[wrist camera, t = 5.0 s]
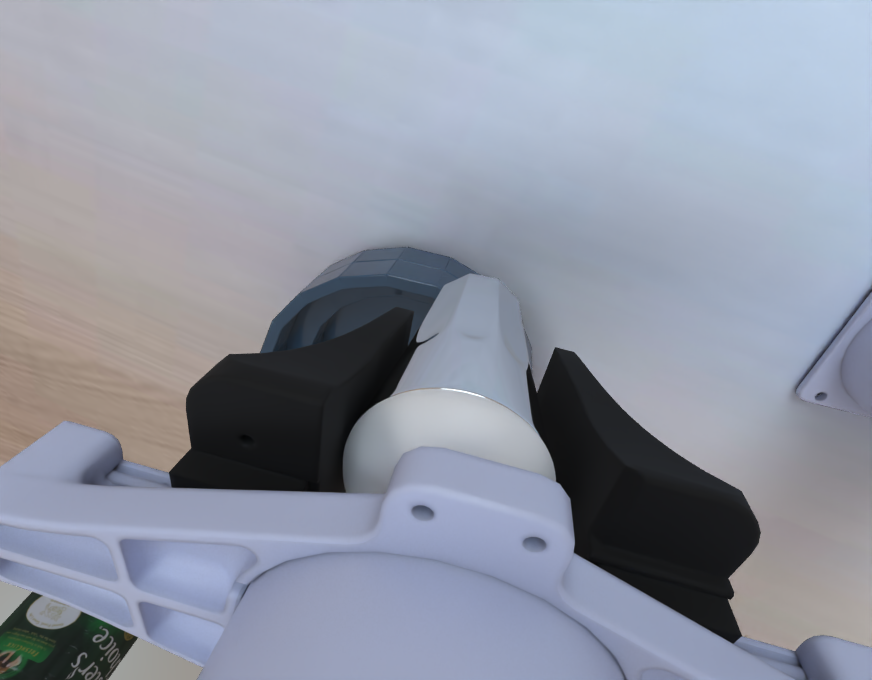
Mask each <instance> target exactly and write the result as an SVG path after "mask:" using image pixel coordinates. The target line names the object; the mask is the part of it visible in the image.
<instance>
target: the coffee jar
mask: <svg viewBox="0 0 872 680" xmlns="http://www.w3.org/2000/svg"><path fill="white" fill-rule="evenodd" d="M137 638H138V637H136V636H134V635H132V634H130V633H128V632H126V631H124V630H121V629H119V628H117V627H115V626H113V625H111V624H109V623H107V622H104V621H102V620H100V619H98V618H95V617H93V616H91V615H89V614H86V613H84V612H82V611H80V610H77V609H75V608H73V607H71V606H68V605H66V604H63V603H61V602H58V601H55V600H53V599H50V598H48V597H45V596H43V595H40V594H37V593H35V592H32V593H31V594H30V595H29V596H28V597H27V598H26V599H25V600H24V601H23V602H22V604H21V605H20V606H19V607H18V608H17V609H16V610H15V611H14V612H13V613H12V614H11V615H10V616H9V617H8V618H7V620H6V621H5V622H4V623H3V624H2V625H1V626H0V680H108V679H109V677H110V676H111V675H112V673H113V672H114V671H115V669H116V668H117V666H118V665H119V663H120V662H121V660H122V659H123V658H124V656H125V655H126V654H127V652H128V651H129V649H130V648H131V647H132V645H133V644H134V642H135V641H136V640H137Z"/></svg>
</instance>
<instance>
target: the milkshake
mask: <svg viewBox="0 0 872 680" xmlns="http://www.w3.org/2000/svg"><path fill="white" fill-rule="evenodd" d="M421 446H425V447H439V448H447V449H450V450H454V451H458V452H461V453H465V454H469V455H472V456H476V457H480V458H483V459H487V460H491V461H494V462H498V463H502V464H505V465H509V466H513V467H516V468H520V469H524V470H527V471H531V472H535V473H538V474H541V475H543V476H545V477H547V478H549V479H551V480H553V481H555V482H556V476H555V469H554V465H553V461H552V456H551V452H550V447H549V443H548V439H547V434H546V430H545V426H544V422H543V417H542V413H541V409H540V404H539V400H538V396H537V392H536V388H535V384H534V380H533V376H532V372H531V367H530V362H529V356H528V351H527V345H526V339H525V333H524V328H523V322H522V316H521V310H520V304H519V299H518V297H517V296H516V295H515V294H514V293H512V292H511V291H510V290H509V289H508V288H507V287H506V286H505V285H504V283H503V282H502V281H501V280H500V279H499V278H493V277H487V276H482V275H476V274H471V273H469V274H467V275H465V276H463V277H461V278H459V279H456V280H454V281H452V282H450V283H447V284H445V285H444V286H443V288H442V289H441V291H440V293H439V295H438V296H437V298H436V300H435V301H434V303H433V305H432V307H431V308H430V310H429V312H428V313H427V315H426V317H425V318H424V320H423V322H422V324H421V325H420V327H419V329H418V330H417V332H416V334H415V335H414V337H413V339H412V340H411V342H410V343H409V345H408V347H407V348H406V350H405V351H404V353H403V354H402V356H401V357H400V358H399V360H398V361H397V363H396V364H395V365H394V367H393V368H392V370H391V371H390V373H389V374H388V376H387V377H386V379H385V380H384V382H383V383H382V385H381V386H380V388H379V389H378V391H377V392H376V393H375V395H374V396H373V398H372V399H371V401H370V402H369V404H368V405H367V407H366V408H365V410H364V411H363V413H362V414H361V416H360V417H359V419H358V421H357V422H356V424H355V425H354V427H353V428H352V430H351V432H350V434H349V436H348V439H347V441H346V444H345V448H344V453H343V481H344V486H345V490H346V493H370V494H384V493H386V491H387V488H388V485H389V482H390V479H391V477H392V474H393V471H394V468H395V466H396V464H397V463H398V461H399V460H400V458H401V456H402V455H403V453H406V452H408V451H411V450H413V449H416V448H418V447H421Z"/></svg>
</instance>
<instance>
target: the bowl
mask: <svg viewBox="0 0 872 680" xmlns="http://www.w3.org/2000/svg"><path fill="white" fill-rule="evenodd" d="M469 273H471V274H476V275H480V274H478V273H476V272H475V271H473V270H471V269H469V268H468V267H466V266H464V265H463V264H461V263H459V262H458V261H456V260H454V259H453V258H450V257H447V256H443V255H439V254H435V253H431V252H427V251H423V250H418V249H414V248H410V247H400V248H387V249H373V250H366V251H362V252H360V253H357V254H355V255H353V256H350V257H348V258H346V259H344V260H341V261H339V262H337V263H335V264H332V265H331V266H329V267H328V268H327V269H326V270H324V271H323V272H322V273H321V274H320V275H319V276H318V277H317V278H316V279H314V280H313V281H312V282H311V283H310V284H309V285H308V286H307V287H306V288H304V289H303V290H302V291H301V292H300V293H299V294H298V295H297V296H296V297H295V298H294V299H293V300H292V301H291V302H290V303H289V304H288V305H287V306H286V307H285V308H284V309H283V310H282V311H281V312H280V313H279V314H278V315H277V316H276V317H275V318H274V319H273V320H272V322H271V325H270V328H269V330H268V333H267V336H266V338H265V341H264V343H263V346H262V349H261V351H260V353H268V352H277V351H285V350H291V349H296V348H301V347H305V346H309V345H314V344H318V343H321V342H325V341H328V340H331V339H334V338H336V337H339V336H342V335H344V334H346V333H348V332H351V331H353V330H355V329H357V328H359V327H361V326H363V325H365V324H367V323H369V322H371V321H372V320H374V319H376V318H378V317H379V316H381V315H383V314H384V313H386V312H388V311H390V310H391V309H393V308H395V307H399V308H403V309H407V310H411V311H414V315H413V321H412V326H411V331H410V337H409V342H408V345H409V343H410V342H411V340H412V339H413V337H414V335H415V334H416V332H417V330H418V329H419V327H420V325H421V324H422V322H423V320H424V318H425V317H426V315H427V313H428V312H429V310H430V308H431V307H432V305H433V303H434V301H435V300H436V298H437V296H438V295H439V293H440V291H441V289H442V288H443V286H444V285H445V284H447V283H450V282H452V281H454V280H456V279H459V278H461V277H463V276H465V275H467V274H469ZM524 333H525V339H526V345H527V351H528V356H529V362H530V367H531V372H532V348H531V344H530V342H529V340H528V337H527V335H526V332H525V330H524Z"/></svg>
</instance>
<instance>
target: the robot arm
mask: <svg viewBox="0 0 872 680" xmlns="http://www.w3.org/2000/svg"><path fill="white" fill-rule="evenodd" d="M413 315H414V311H411V310H407V309H403V308H399V307H395V308H393V309H391V310H390V311H388V312H386V313H384V314H383V315H381V316H379V317H378V318H376V319H374V320H372V321H371V322H369V323H367V324H365V325H363V326H361V327H359V328H357V329H355V330H353V331H351V332H348V333H346V334H344V335H342V336H339V337H336V338H334V339H331V340H328V341H325V342H321V343H318V344H314V345H309V346H305V347H301V348H296V349H291V350H285V351H277V352H268V353H252V354H229V355H228V356H226V357H225V358H224V359H223V360H221V361H220V362H219V363H218V364H216V365H215V366H214V367H213V368H212V369H211V370H210V371H209V372H208V373H207V374H206V375H205V376H203V377H202V378H201V379H200V380H199V381H198V382H197V383H196V384H195V385H194V386H193V387H192V388H191V389H190V391H189V393H188V395H187V398H186V413H187V420H188V427H189V434H190V441H191V449H190V450H189V451H188V452H187V453H186V455H185V456H184V457H183V458H182V459H181V460H180V461H179V462H178V463H177V464H176V465H175V466H174V467H173V469H172V470H171V471H170V472H169V473H168V472H164V471H161V470H157V469H154V468H150V467H147V466H143V465H140V464H136V463H133V462H129V461H126V460H123V454H122V448H121V444H120V443H119V441H118V439H117V438H115V437H114V436H113V435H112V434H110V433H108V432H106V431H102V430H98V429H95V428H91V427H88V426H84V425H81V424H77V423H74V422H70V421H63V422H62V423H61V424H59V425H58V426H56V427H55V428H54V429H52V430H51V431H49V432H48V433H47V434H45V435H44V436H42V437H41V438H40V439H38V440H37V441H35V442H34V443H33V444H31V445H30V446H29V447H27V448H26V449H24V450H23V451H22V452H20V453H19V454H17V455H16V456H15V457H13V458H12V459H10V460H9V461H8V462H6V463H5V464H3V465H2V466H1V467H0V581H2V582H5V583H8V584H11V585H14V586H17V587H20V588H23V589H26V590H29V591H32V592H35V593H37V594H40V595H43V596H45V597H48V598H50V599H53V600H55V601H58V602H61V603H63V604H66V605H68V606H71V607H73V608H75V609H77V610H80V611H82V612H84V613H86V614H89V615H91V616H93V617H95V618H98V619H100V620H102V621H104V622H107V623H109V624H111V625H113V626H115V627H117V628H119V629H121V630H124V631H126V632H128V633H130V634H132V635H134V636H136V637H138V638H141V639H143V640H145V641H147V642H149V643H151V644H153V645H155V646H158V647H160V648H162V649H164V650H166V651H168V652H171V653H172V654H175V655H177V656H179V657H181V658H183V659H185V660H188V661H189V662H192V663H194V664H196V665H198V666H200V667H202V668H203V669H202V671H201V673H200V674H199V677H198V678H197V680H872V648H871V647H868V646H864V645H860V644H857V643H853V642H850V641H846V640H843V639H839V638H836V637H832V636H825V635H820V636H813V637H811V638H809V639H807V640H805V641H804V642H803V643H802V644H801V645H800V646H799V647H798V648H797V650H796V651H792V650H788V649H785V648H781V647H778V646H774V645H771V644H767V643H764V642H760V641H757V640H753V639H750V638H746V637H743V636H742V635H741V632H740V630H739V627H738V625H737V622H736V619H735V617H734V614H733V612H732V609H731V607H730V604H729V602H728V599H730V600H731V599H732V598H733V597H734V591H733V588H732V586H731V584H730V581H729V579H728V578H729V577H730V576H731V575H732V574H733V573H734V572H735V571H736V569H737V568H738V567H739V566H740V565H741V564H742V563H743V562H744V561H745V560H746V559H747V558H748V557H749V556H750V555H751V554H752V552H753V551H754V549H755V548H756V546H757V545H758V543H759V538H760V534H761V532H760V528H759V524H758V521H757V519H756V517H755V515H754V514H753V512H752V510H751V508H750V506H749V504H748V502H747V501H746V499H745V497H744V495H743V493H742V491H740V490H739V489H737V488H735V487H733V486H731V485H729V484H727V483H726V482H724V481H722V480H720V479H718V478H716V477H714V476H713V475H711V474H709V473H707V472H705V471H704V470H702V469H700V468H699V467H697V466H696V465H694V464H692V463H691V462H689V461H688V460H686V459H684V458H683V457H681V456H680V455H678V454H677V453H675V452H674V451H672V450H671V449H670V448H668V447H667V446H666V445H664V444H663V443H662V442H660V441H659V440H658V439H656V438H655V437H654V436H652V435H651V434H650V433H649V432H647V431H646V430H645V429H644V428H643V427H641V426H640V425H639V424H638V423H637V422H636V421H635V420H634V419H633V418H631V417H630V416H629V415H628V414H627V413H626V412H625V411H624V410H623V409H622V408H621V407H620V406H619V405H618V404H617V403H616V402H615V400H614V399H613V398H612V397H611V396H610V395H609V394H608V393H607V392H606V390H605V389H604V388H603V387H602V386H601V385H600V383H599V382H598V381H597V380H596V378H595V377H594V376H593V375H592V373H591V372H590V371H589V370H588V368H587V367H586V366H585V364H584V363H583V362H582V361H581V359H580V358H579V357H578V356H577V355H576V354H575V353H574V352H572V351H568V350H564V349H560V348H556V347H555V349H554V352H553V354H552V357H551V359H550V362H549V364H548V367H547V369H546V372H545V374H544V377H543V380H542V382H541V385H540V387H539V390H538V392H537V396H538V400H539V404H540V409H541V413H542V417H543V422H544V426H545V430H546V434H547V439H548V443H549V447H550V452H551V456H552V461H553V465H554V469H555V476H556V482H555V481H553V480H551V479H549V478H547V477H545V476H543V475H541V474H538V473H535V472H531V471H527V470H524V469H520V468H516V467H513V466H509V465H505V464H502V463H498V462H494V461H491V460H487V459H483V458H480V457H476V456H472V455H469V454H465V453H461V452H458V451H454V450H450V449H447V448H439V447H425V446H421V447H418V448H416V449H413V450H411V451H408V452H406V453H403V455H402V456H401V458H400V460H399V461H398V463H397V464H396V466H395V468H394V471H393V474H392V477H391V479H390V482H389V485H388V488H387V491H386V493H384V494H370V493H346V490H345V486H344V481H343V453H344V448H345V444H346V441H347V439H348V436H349V434H350V432H351V430H352V428H353V427H354V425H355V424H356V422H357V421H358V419H359V417H360V416H361V414H362V413H363V411H364V410H365V408H366V407H367V405H368V404H369V402H370V401H371V399H372V398H373V396H374V395H375V393H376V392H377V391H378V389H379V388H380V386H381V385H382V383H383V382H384V380H385V379H386V377H387V376H388V374H389V373H390V371H391V370H392V368H393V367H394V365H395V364H396V363H397V361H398V360H399V358H400V357H401V356H402V354H403V353H404V351H405V350H406V348H407V347H408V342H409V337H410V331H411V326H412V321H413ZM821 392H822V394H820V395H818V396H816V395H817V394H818V393H821ZM796 394H797V395H798V396H799V398H800V399H801V400H803V401H806V402H810V403H814V404H818V405H822V406H826V407H830V408H834V409H839V410H843V411H847V412H851V413H855V414H859V415H863V416H867V417H871V418H872V292H871V293H870V294H869V296H868V297H867V298H866V300H865V301H864V302H863V303H862V305H861V306H860V307H859V309H858V310H857V311H856V312H855V314H854V315H853V316H852V318H851V319H850V320H849V322H848V323H847V324H846V325H845V327H844V328H843V329H842V331H841V332H840V333H839V334H838V336H837V337H836V338H835V340H834V341H833V342H832V344H831V345H830V346H829V347H828V349H827V350H826V351H825V353H824V354H823V355H822V356H821V358H820V359H819V360H818V362H817V363H816V364H815V366H814V367H813V368H812V369H811V371H810V372H809V373H808V375H807V376H806V377H805V378H804V380H803V381H802V382H801V384H800V385H799V386H798V388H797V390H796Z"/></svg>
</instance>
